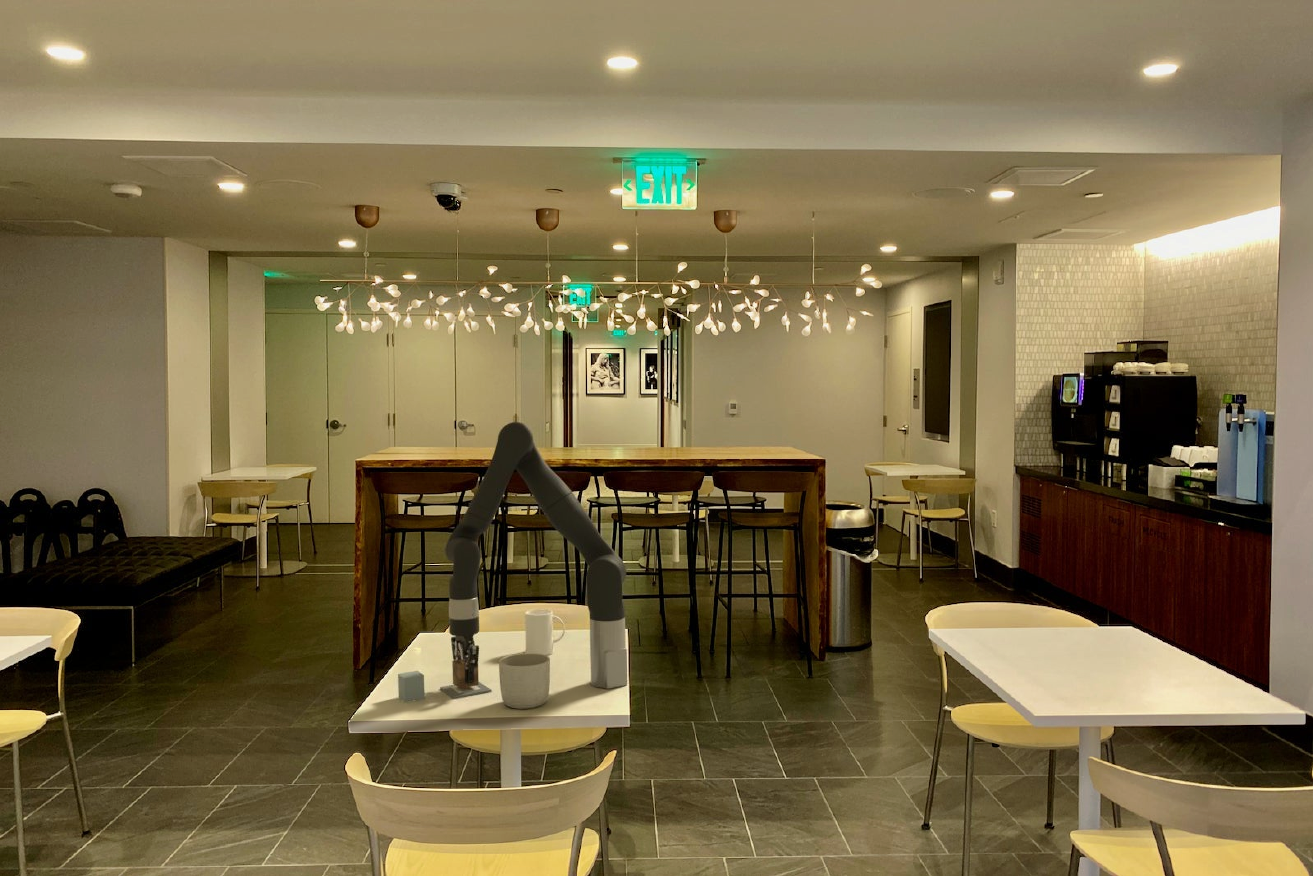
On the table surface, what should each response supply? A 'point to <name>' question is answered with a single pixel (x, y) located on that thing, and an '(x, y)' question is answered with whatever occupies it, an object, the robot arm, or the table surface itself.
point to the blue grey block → (411, 686)
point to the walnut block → (462, 674)
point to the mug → (540, 631)
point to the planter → (524, 680)
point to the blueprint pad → (465, 690)
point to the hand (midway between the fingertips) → (465, 680)
